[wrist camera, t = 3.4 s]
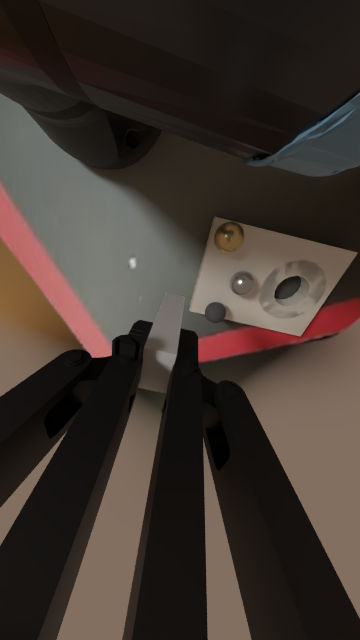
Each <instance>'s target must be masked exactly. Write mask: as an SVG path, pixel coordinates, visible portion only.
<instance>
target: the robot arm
mask: <svg viewBox="0 0 360 640" xmlns="http://www.w3.org/2000/svg"><path fill="white" fill-rule="evenodd" d="M0 93H1V94H3V95H4V96H6V97H8V98H10V99H11V100H13V101H15V102H17V103H18V104H20V105H22V106H23V107H24V109H25V110H26V111H27V112H28V113H29V114H30V116H31V117H32V118H33V119H34V120H35V121H36V122H37V124H38V125H39V126H40V127H41V128H42V130H43V131H44V132H45V133H46V134H47V135H48V137H49V138H50V139H51V140H52V141H53V142H54V143H55V144H57V145H58V146H59V147H60V148H61V149H63V150H64V151H65V152H66V153H68V154H69V155H71V156H72V157H74V158H76V159H78V160H80V161H82V162H84V163H87V164H89V165H92V166H94V167H97V168H102V169H120V168H124V167H127V166H130V165H132V164H134V163H135V162H137V161H138V160H140V159H141V158H142V157H143V156H144V155H145V154H146V153H147V152H148V151H149V150H150V149H151V147H152V146H153V145H154V143H155V142H156V140H157V138H158V137H159V135H160V133H161V131H162V130H164V131H167V132H169V133H172V134H175V135H178V136H181V137H183V138H186V139H189V140H192V141H195V142H197V143H200V144H203V145H206V146H209V147H211V148H214V149H217V150H220V151H223V152H225V153H228V154H231V155H234V156H237V157H239V158H242V160H243V162H244V163H245V164H247V165H250V166H253V167H263V166H267V165H269V166H273V167H276V168H280V169H284V170H287V171H291V172H294V173H298V174H302V175H306V176H312V177H323V176H331V175H335V174H337V173H339V172H342V171H344V170H346V169H350V168H356V167H358V166H360V0H0ZM184 300H185V297H184V296H180V295H176V294H171V293H167V292H165V295H164V297H163V300H162V302H161V305H160V308H159V310H158V313H157V315H156V318H155V321H154V323H152V322H147V321H143V320H139V321H137V322H136V323H134V325H133V326H132V328H131V330H130V332H129V334H128V335H121V336H118V337H116V338H115V339H114V340H113V341H112V356H108V357H102V358H92V357H91V355H90V353H88V352H87V351H85V350H81V349H76V350H75V349H74V350H70V351H67V352H64V353H62V354H61V355H59V356H58V357H56V358H55V359H54V360H52V361H51V362H49V363H48V364H46V365H45V366H44V367H42V368H41V369H39V370H38V371H36V372H35V373H34V374H32V375H31V376H30V377H28V378H27V379H25V380H24V381H22V382H21V383H20V384H18V385H17V386H15V387H14V388H12V389H11V390H10V391H8V392H7V393H5V394H4V395H2V396H1V397H0V507H1V506H2V505H3V504H4V503H5V502H6V500H7V499H8V498H9V497H10V496H11V495H12V494H13V492H14V491H15V490H16V489H17V488H18V487H19V485H20V484H21V483H22V482H23V481H24V480H25V478H26V477H27V476H28V475H29V474H30V473H31V472H32V470H33V469H34V468H35V467H36V466H37V465H38V464H39V462H40V461H41V460H42V459H43V458H44V457H45V456H46V454H47V453H48V452H49V451H50V450H51V449H52V448H53V446H54V445H55V444H56V443H57V442H58V441H59V439H60V438H61V437H62V436H63V435H64V434H65V433H66V431H67V430H68V431H67V433H66V434H65V436H64V438H63V440H62V441H61V443H60V445H59V447H58V448H57V450H56V452H55V453H54V455H53V457H52V459H51V460H50V462H49V464H48V465H47V467H46V469H45V470H44V472H43V474H42V476H41V477H40V479H39V481H38V482H37V484H36V486H35V487H34V489H33V491H32V493H31V494H30V496H29V498H28V499H27V501H26V503H25V505H24V506H23V508H22V510H21V511H20V513H19V515H18V517H17V518H16V520H15V522H14V524H13V525H12V527H11V529H10V530H9V532H8V534H7V535H6V537H5V539H4V541H3V543H2V544H1V546H0V640H56V639H57V636H58V633H59V630H60V627H61V624H62V621H63V617H64V614H65V611H66V608H67V605H68V602H69V599H70V596H71V593H72V590H73V587H74V584H75V581H76V578H77V575H78V572H79V568H80V565H81V562H82V559H83V556H84V553H85V550H86V547H87V544H88V540H89V538H90V535H91V532H92V529H93V526H94V522H95V520H96V516H97V513H98V510H99V507H100V504H101V501H102V498H103V495H104V492H105V489H106V486H107V483H108V480H109V477H110V474H111V470H112V467H113V464H114V461H115V458H116V455H117V452H118V449H119V446H120V443H121V440H122V437H123V434H124V431H125V427H126V425H127V422H128V418H129V415H130V412H131V409H132V406H133V403H134V400H135V397H136V390H137V387H138V388H143V389H148V390H152V391H158V392H162V393H166V398H165V401H164V405H163V408H162V417H161V423H160V428H159V434H158V440H157V446H156V451H155V457H154V463H153V469H152V474H151V480H150V485H149V491H148V497H147V503H146V508H145V514H144V520H143V525H142V531H141V537H140V543H139V548H138V554H137V560H136V565H135V571H134V577H133V582H132V588H131V594H130V600H129V605H128V611H127V617H126V622H125V628H124V634H123V639H122V640H208V639H207V596H206V595H207V594H206V552H205V511H204V510H205V508H204V464H203V439H204V443H205V447H206V451H207V455H208V459H209V463H210V468H211V472H212V476H213V480H214V484H215V489H216V492H217V497H218V501H219V505H220V509H221V513H222V518H223V522H224V526H225V530H226V534H227V538H228V543H229V547H230V551H231V555H232V559H233V564H234V568H235V571H236V576H237V580H238V584H239V589H240V593H241V597H242V601H243V605H244V609H245V613H246V618H247V622H248V626H249V630H250V634H251V639H252V640H360V618H359V617H358V615H357V613H356V611H355V609H354V607H353V605H352V603H351V601H350V599H349V597H348V595H347V593H346V591H345V589H344V587H343V585H342V583H341V581H340V579H339V577H338V575H337V573H336V571H335V569H334V567H333V565H332V563H331V561H330V559H329V557H328V556H327V553H326V552H325V550H324V548H323V546H322V544H321V542H320V540H319V538H318V536H317V534H316V532H315V530H314V528H313V526H312V524H311V522H310V520H309V518H308V516H307V514H306V512H305V510H304V508H303V506H302V504H301V502H300V500H299V499H298V496H297V494H296V492H295V490H294V488H293V487H292V485H291V483H290V481H289V479H288V477H287V475H286V473H285V471H284V469H283V467H282V465H281V463H280V461H279V459H278V457H277V455H276V453H275V451H274V449H273V447H272V445H271V443H270V441H269V439H268V437H267V435H266V433H265V431H264V430H263V427H262V426H261V424H260V422H259V420H258V418H257V416H256V414H255V412H254V410H253V408H252V406H251V404H250V402H249V400H248V398H247V396H246V394H245V392H244V391H243V389H242V388H241V387H240V386H238V385H237V384H236V383H234V382H232V381H227V380H225V381H221V382H220V383H218V384H217V383H214V382H213V381H211V380H209V379H207V378H206V377H204V376H203V375H202V373H201V371H200V369H199V367H198V336H197V334H196V333H195V332H194V331H190V330H185V329H181V321H182V314H183V307H184ZM138 384H139V385H138Z"/></svg>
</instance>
